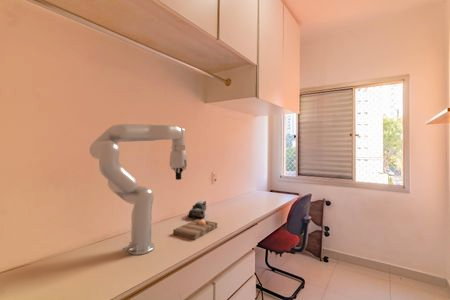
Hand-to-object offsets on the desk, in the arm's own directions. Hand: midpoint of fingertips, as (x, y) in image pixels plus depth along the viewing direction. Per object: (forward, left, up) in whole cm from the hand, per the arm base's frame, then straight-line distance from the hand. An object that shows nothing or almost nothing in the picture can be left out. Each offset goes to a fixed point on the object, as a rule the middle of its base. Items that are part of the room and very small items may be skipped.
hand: (178, 179), depth 133 cm
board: (+11, -5, -33) cm, 35 cm away
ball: (+18, -4, -31) cm, 36 cm away
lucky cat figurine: (+35, +13, -33) cm, 50 cm away
